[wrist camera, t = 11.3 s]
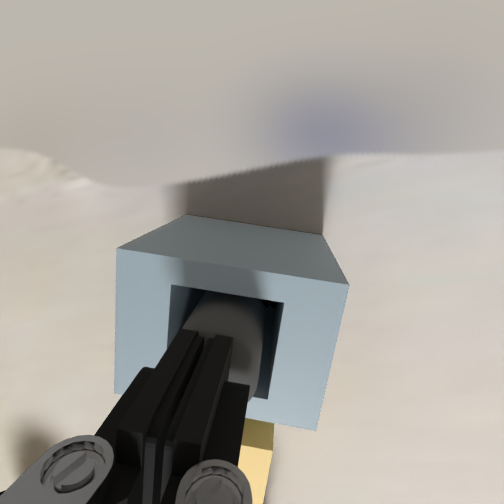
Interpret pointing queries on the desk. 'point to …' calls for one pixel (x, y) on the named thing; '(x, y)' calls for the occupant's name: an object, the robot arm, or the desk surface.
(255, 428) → the block
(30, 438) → the desk surface
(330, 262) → the frame
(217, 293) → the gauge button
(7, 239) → the desk surface
